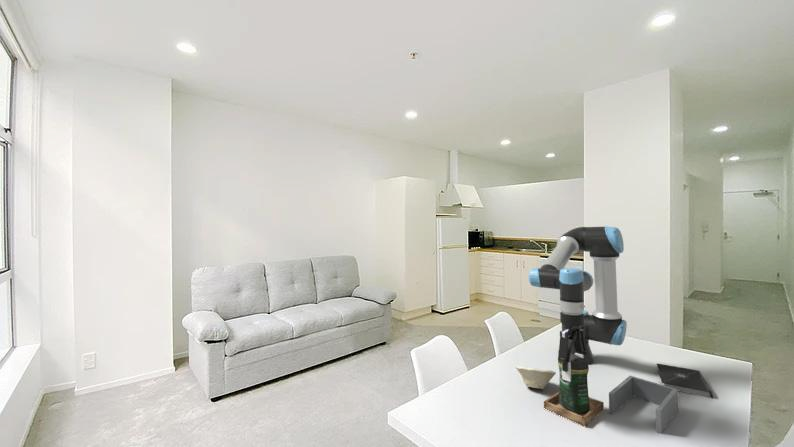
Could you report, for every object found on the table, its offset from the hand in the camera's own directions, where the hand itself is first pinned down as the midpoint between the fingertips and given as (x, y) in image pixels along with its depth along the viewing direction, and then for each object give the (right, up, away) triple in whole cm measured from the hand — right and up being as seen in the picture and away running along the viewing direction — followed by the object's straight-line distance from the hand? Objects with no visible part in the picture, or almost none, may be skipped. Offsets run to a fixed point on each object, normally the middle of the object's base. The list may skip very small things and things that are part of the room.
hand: (573, 375), depth 117 cm
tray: (0, -12, 0) cm, 12 cm away
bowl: (-6, -12, +16) cm, 21 cm away
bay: (+23, -12, -2) cm, 26 cm away
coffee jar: (0, -11, 0) cm, 11 cm away
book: (+55, -12, +19) cm, 60 cm away
